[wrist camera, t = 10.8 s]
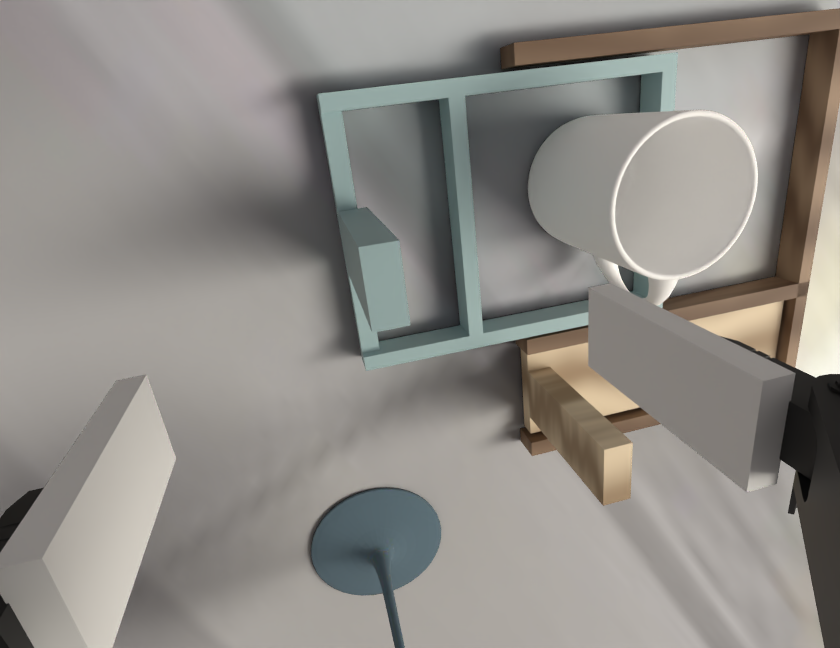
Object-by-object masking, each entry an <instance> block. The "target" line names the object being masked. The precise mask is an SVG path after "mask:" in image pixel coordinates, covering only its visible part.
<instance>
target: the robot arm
mask: <svg viewBox="0 0 840 648" xmlns="http://www.w3.org/2000/svg"><path fill="white" fill-rule="evenodd" d="M588 366H589V367H590V368H592V369H593V370H594V371H595V372H597V373H598V374H599V375H600V376H602V377H603V378H604V379H605V380H607V381H608V382H609V383H610V384H612V385H613V386H614V387H615V388H617V389H618V390H619V391H620V392H622V393H623V394H624V395H625V396H627V397H628V398H629V399H630V400H632V401H633V402H634V403H635V404H637V405H638V406H639V407H640V408H642V409H643V410H644V411H645V412H647V413H648V414H649V415H650V416H652V417H653V418H654V419H655V420H657V421H658V422H659V423H660V424H662V425H663V426H664V427H665V428H667V429H668V430H669V431H671V432H672V433H673V434H674V435H676V436H677V437H678V438H679V439H681V440H682V441H683V442H684V443H686V444H687V445H688V446H689V447H691V448H692V449H693V450H694V451H696V452H697V453H698V454H699V455H701V456H702V457H703V458H704V459H706V460H707V461H708V462H709V463H711V464H712V465H713V466H714V467H716V468H717V469H718V470H719V471H721V472H722V473H723V474H724V475H726V476H727V477H728V478H729V479H731V480H732V481H733V482H734V483H736V484H737V485H738V486H739V487H741V488H742V489H743V490H744V491H746V492H750V491H753V490H757V489H760V488H764V487H767V486H771V485H774V484H777V478H778V473H779V467H780V461H781V460H782V461H783V462H785V463H786V464H788V465H789V466H791V467H792V468H794V469H795V470H796V473H795V478H794V483H793V489H792V494H791V499H790V505H789V510H788V513H790V514H794V513H795V509H796V508H798V513H799V518H800V523H801V528H802V533H803V539H804V544H805V549H806V554H807V559H808V565H809V570H810V575H811V580H812V585H813V590H814V596H815V601H816V606H817V611H818V616H819V622H820V627H821V632H822V637H823V642H824V647H825V648H840V374H828V375H822V376H819V377H817V378H815V377H813V376H811V375H809V374H807V373H805V372H803V371H801V370H798V369H796V368H794V367H792V366H790V365H788V364H786V363H784V362H782V361H780V360H778V359H775V358H770V356H769V355H767V354H765V353H763V352H761V351H756V349H754V348H752V347H750V346H748V345H746V344H744V343H742V342H740V341H737V340H733V339H729V338H725V337H722V336H718V335H716V334H714V333H712V332H710V331H708V330H706V329H704V328H702V327H700V326H698V325H696V324H694V323H692V322H689V321H687V320H685V319H683V318H681V317H679V316H677V315H675V314H673V313H671V312H669V311H667V310H665V309H663V308H661V307H659V306H657V305H655V304H652V303H650V302H648V301H646V300H644V299H642V298H640V297H638V296H636V295H634V294H632V293H630V292H628V291H626V290H624V289H622V288H620V287H617V286H615V285H613V284H611V283H609V284H604V285H599V286H594V287H589V303H588ZM175 460H176V457H175V454H174V451H173V448H172V445H171V442H170V440H169V437H168V434H167V431H166V428H165V425H164V423H163V420H162V417H161V414H160V411H159V408H158V406H157V403H156V400H155V397H154V394H153V391H152V389H151V386H150V383H149V380H148V377H147V375H142V376H137V377H132V378H127V379H122V380H117V381H116V382H115V383H114V385H113V386H112V388H111V389H110V391H109V392H108V394H107V395H106V397H105V398H104V400H103V401H102V403H101V404H100V406H99V407H98V409H97V410H96V412H95V413H94V415H93V416H92V417H91V419H90V420H89V422H88V423H87V425H86V426H85V428H84V429H83V431H82V432H81V434H80V435H79V437H78V438H77V440H76V441H75V443H74V444H73V446H72V447H71V449H70V450H69V452H68V453H67V455H66V456H65V457H64V459H63V460H62V462H61V463H60V465H59V466H58V468H57V469H56V471H55V472H54V474H53V475H52V477H51V478H50V480H49V481H48V483H47V484H46V486H45V487H44V488H41V489H36V490H32V491H29V492H27V493H26V494H25V495H24V496H23V497H21V498H20V499H19V500H18V501H16V502H15V503H14V504H13V505H12V506H10V507H9V508H8V509H7V510H6V511H5V512H4V514H3V515H2V516H1V518H0V648H112V647H113V644H114V641H115V638H116V635H117V632H118V629H119V626H120V623H121V621H122V618H123V615H124V612H125V609H126V606H127V603H128V600H129V597H130V594H131V591H132V588H133V585H134V582H135V579H136V576H137V573H138V570H139V567H140V564H141V561H142V558H143V555H144V552H145V549H146V546H147V543H148V540H149V537H150V534H151V532H152V529H153V526H154V523H155V520H156V517H157V514H158V511H159V508H160V505H161V502H162V499H163V496H164V493H165V490H166V487H167V484H168V481H169V478H170V475H171V472H172V469H173V466H174V463H175Z"/></svg>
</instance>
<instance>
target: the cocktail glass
mask: <svg viewBox="0 0 840 648" xmlns="http://www.w3.org/2000/svg"><path fill="white" fill-rule="evenodd" d="M440 540H441V526H440V521H439V519H438V516H437V514H436V512H435V511H434V509H433V508H432V506H431V505H430V504H429V503H428V502H427V501H426V500H425V499H423V498H422V497H420V496H418V495H416V494H414V493H412V492H410V491H406V490H402V489H395V488H378V489H373V490H367V491H364V492H361V493H358V494H355V495H353V496H351V497H349V498H347V499H345V500H344V501H342V502H341V503H339V504H337V505H336V506H335V507H334V508H333V509H332V510H330V511H329V512H328V513H327V515H326V516H325V517H324V518H323V519H322V521H321V522H320V524H319V525H318V527H317V529H316V531H315V534H314V536H313V541H312V546H311V556H312V561H313V565H314V567H315V569H316V572H317V573H318V574H319V576H320V577H321V578H322V579H323V580H324V581H325V582H326V583H327V584H328V585H330V586H331V587H333V588H335V589H337V590H339V591H342V592H345V593H349V594H353V595H376V594H382V593H383V595H384V600H385V604H386V609H387V613H388V618H389V622H390V627H391V631H392V636H393V641H394V645H395V648H405V647H404V642H403V637H402V632H401V628H400V623H399V618H398V613H397V608H396V603H395V598H394V593H393V590H395V589H397V588H400V587H402V586H404V585H406V584H407V583H409V582H411V581H412V580H414V579H415V578H416V577H418V576H419V575H420V574H421V573H422V572H423V571H424V570H425V569H426V568H427V567H428V566H429V564H430V563H431V562H432V560H433V558H434V557H435V555H436V553H437V550H438V548H439V544H440Z"/></svg>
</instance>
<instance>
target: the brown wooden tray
mask: <svg viewBox="0 0 840 648" xmlns="http://www.w3.org/2000/svg"><path fill="white" fill-rule="evenodd" d="M807 34H810V36H809V43H808V50H807V57H806V64H805V71H804V78H803V85H802V92H801V99H800V106H799V114H798V121H797V128H796V135H795V142H794V149H793V156H792V163H791V170H790V177H789V184H788V191H787V198H786V205H785V212H784V219H783V226H782V233H781V240H780V247H779V254H778V261H777V268H776V275H775V277H770V278H765V279H760V280H755V281H750V282H745V283H741V284H736V285H731V286H726V287H721V288H716V289H711V290H706V291H701V292H696V293H692V294H687V295H682V296H677V297H672V298H667V299H666V300H665V301H664V302H663V309H665V310H667V311H669V312H671V313H673V314H675V315H677V316H679V317H681V318H683V319H685V320H687V321H691V320H695V319H700V318H705V317H709V316H714V315H719V314H723V313H728V312H733V311H737V310H742V309H747V308H751V307H756V306H761V305H765V304H770V303H775V302H780V301H784V304H783V310H782V317H781V324H780V330H779V337H778V343H777V350H776V357H775V359H778V360H780V361H782V362H784V363H786V364H788V365H790V366H792V367H794V368H795V365H796V359H797V353H798V347H799V341H800V335H801V329H802V323H803V317H804V311H805V305H806V299H807V293H808V287H809V281H810V275H811V269H812V264H813V258H814V252H815V246H816V240H817V234H818V228H819V222H820V216H821V210H822V204H823V198H824V192H825V186H826V180H827V174H828V168H829V162H830V157H831V151H832V145H833V139H834V133H835V127H836V121H837V115H838V109H839V103H840V8H839V9H829V10H820V11H810V12H801V13H791V14H782V15H773V16H763V17H754V18H744V19H735V20H725V21H716V22H706V23H697V24H687V25H678V26H668V27H659V28H649V29H640V30H630V31H621V32H611V33H602V34H592V35H583V36H573V37H564V38H554V39H545V40H535V41H526V42H516V43H512V44H509V45H507V46H504V47H502V48H500V54H501V69H509V68H518V67H527V66H535V65H544V64H553V63H562V62H571V61H579V60H588V59H597V58H606V57H614V56H623V55H632V54H641V53H649V52H658V51H667V50H676V49H684V48H693V47H702V46H711V45H720V44H728V43H737V42H746V41H755V40H763V39H772V38H781V37H790V36H798V35H807ZM583 343H588V325H585V326H581V327H576V328H571V329H566V330H561V331H557V332H552V333H547V334H542V335H537V336H532V337H528V338H523V339H518V340H516V345H517V346H518V347H519V348H521V349H522V350H523V351H524V352H525V353H526V354H527V355H531V354H536V353H541V352H545V351H550V350H555V349H560V348H564V347H569V346H574V345H578V344H583ZM604 417H605V418H606V419H607V420H608V421H610V422H611V423H612V424H613V425H614V426H615V427H616V428H617V429H618V430H619V431H620V432H622V433H626V432H630V431H634V430H638V429H642V428H646V427H650V426H655V425H659V424H660V423H659V422H658V421H657V420H655V419H654V418H653V417H652V416H650V415H649V414H648V413H647V412H645V411H644V410H643V409H642V408H640V407H639V408H635V409H631V410H627V411H622V412H618V413H614V414H610V415H606V416H604ZM520 434H521V442H522V443H523V444H524V446H525V447H526V448H527V450H528V451H529V452H530V454H531V455H532V456H534V455H538V454H542V453H546V452H550V451H554V450H557V449H556V448H555V447H554V446H553V445H552V443H551V442H550V441H549V440H548V439H547V437H546V436H545V435H544V434H543V432H542V431H539V432H535V433H530V432H529V431H528V430H527V428H526V427H524V428H520Z"/></svg>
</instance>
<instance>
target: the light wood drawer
mask: <svg viewBox="0 0 840 648" xmlns="http://www.w3.org/2000/svg"><path fill="white" fill-rule="evenodd" d="M783 304H784V301H780V302H775V303H770V304H765V305H761V306H756V307H751V308H747V309H742V310H737V311H733V312H728V313H723V314H719V315H714V316H709V317H705V318H700V319H695V320H691V321H689V322H692V323H694V324H696V325H698V326H700V327H702V328H704V329H706V330H708V331H710V332H712V333H714V334H716V335H718V336H722V337H725V338H729V339H733V340H737V341H740V342H742V343H744V344H746V345H748V346H750V347H752V348H754V349H756V351H761V352H763V353H765V354H767V355H769V356H770V358H775V357H776V350H777V343H778V337H779V330H780V324H781V317H782V310H783ZM521 365H522V385H523V406H524V426H525V427H526V428H527V430H528V431H529V432H530V433H535V432H539V431H542V432H543V434H544V435H545V436H546V437H547V439H548V440H549V441H550V442H551V443H552V445H553V446H554V447H555V448H556V449H557V451H558V452H559V453H560V454H561V455H562V457H563V458H564V459H565V460H566V461H567V463H568V464H569V465H570V466H571V467H572V469H573V470H574V471H575V472H576V473H577V475H578V476H579V477H580V478H581V479H582V481H583V482H584V483H585V484H586V485H587V487H588V488H589V489H590V490H591V492H592V493H593V494H594V495H595V496H596V498H597V499H598V500H599V501H600V502H601V504H602V505H603V506H604V505H607V504H611V503H615V502H618V501H622V500H626V499H629V498H630V494H631V470H632V446H633V443H632V442H631V441H630V440H629V439H628V438H627V437H626V436H625V435H624V434H623V433H622V432H620V431H619V430H618V429H617V428H616V427H615V426H614V425H613V424H612V423H611V422H610V421H608V420H607V419H606V418H605V417H604V416H606V415H610V414H614V413H618V412H622V411H627V410H631V409H635V408H639V406H638V405H637V404H635V403H634V402H633V401H632V400H630V399H629V398H628V397H627V396H625V395H624V394H623V393H622V392H620V391H619V390H618V389H617V388H615V387H614V386H613V385H612V384H610V383H609V382H608V381H607V380H605V379H604V378H603V377H602V376H600V375H599V374H598V373H597V372H595V371H594V370H593V369H592V368H590V367H589V366H588V343H583V344H578V345H574V346H569V347H564V348H560V349H555V350H550V351H545V352H541V353H536V354H531V355H527V354H526V353H525V352H524V351H523V350H522V349H521Z"/></svg>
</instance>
